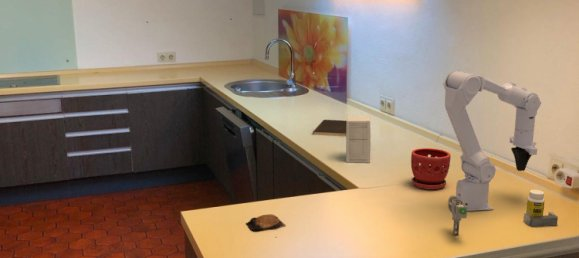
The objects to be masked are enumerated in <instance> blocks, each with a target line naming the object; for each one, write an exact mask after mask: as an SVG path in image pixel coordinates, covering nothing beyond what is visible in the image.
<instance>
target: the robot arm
mask: <svg viewBox="0 0 579 258" xmlns="http://www.w3.org/2000/svg"><path fill="white" fill-rule="evenodd" d="M442 86H443V87H444V89H445V91H444V93H445V95H444V96H445V97H444V108H445V111H446V114H447V116H448V118H449V121H450V123H451V126H452V128H453V131H454V133H455V137H456V138H457V141H458V142H457V143H459V147H460V148H461V151H462V154H461V155H460V162H461V170H462V172H463V174H464V177H465V178H463V179H459V180H457V182H456V185H455V186H456V188H455V191H456V192H455V196H456V197H457V198H458V200H462V201H463V202H464V204H465V205H466V206H467V212H471V211H489V210H490V211H491V210H493V209H494V208H493V207H492V206H491V205H490V204H489V190H490V183H491V181H492V180H493V178H495V175H496V171H497V169H496V167H495V165H494V163H492V162H491V161H490V158H489V157H488V155H486V153H484V151H483V150H482V147H481V146H480V143H479V140H478V138H477V135H476V132H475V130H474V127H473V124H472V122H471V120H470V116H469V113H468V111H467V109H466V107H467V106H468V105H469V104H470V103H471V101H472V100H473V99H475V96H476V95H477V94H479V93H478V92H483V90H484V91H487V92H491V93H492V94H496V95H497V97H498V100H500V101H501V102H504V103H507V104H509V105H512V106H513V107H514V108H516V109H515V120H514V122H515V123H514V133H513V134H514V135H513V136H510V137H509V143H510V144H512V146H514V147H511V152H512V154H513V157H514V161H515V167H516V171H517V172H522V171H525V170H526V168H527V165H528V162H529V160H530V159H531V157H532V156H534V155H537V154H538V148H537V147H535V146H536V145H537V142H536V141H534V134H535V122H536V116H537V114H538V111H539V108H540V107H541V104H542V101H541V100H540V97H539V95H538V94H537V93H534V92H530V91H527V90H528V89H527V88H525V87H522V88H521V87H519V86H517V83H514V82H506V83H503V84H501V83H499V82H496V81H495V80H492V79H490V78H488V77H486V76H484V75H483V76H482V75H479V74H475V73H470V72H466V71H464V72H463V71H460V70H457V69H455V70H451V71H450V72H449V73H447V75H446V77H445V79H444V81H443V85H442Z"/></svg>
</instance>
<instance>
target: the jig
mask: <svg viewBox="0 0 579 258" xmlns="http://www.w3.org/2000/svg"><path fill="white" fill-rule="evenodd" d="M558 218H559V217H558V215H556V214H555V213H554V212H553V211H549V212H548V215H546V214H545V215H543V216H530V215H529V214H528V213H526V212H525V213H523V223H525V224H526V225H528V226H529V227H530V226H531V228H535V227H536V228H537V227H538V228H539V227H541V228H542V227H555V226H556V227H557V226H558V220H559V219H558Z"/></svg>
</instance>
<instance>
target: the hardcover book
mask: <svg viewBox="0 0 579 258" xmlns="http://www.w3.org/2000/svg"><path fill="white" fill-rule="evenodd" d="M346 124H347V120H339V119H323V120H322V121H321V122H319V124H318V126H317V127H316V128H315V129H314V130H312V135H315V136H316V135H318V136H331V137H333V136H334V137H346Z"/></svg>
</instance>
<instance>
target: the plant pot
mask: <svg viewBox="0 0 579 258" xmlns="http://www.w3.org/2000/svg"><path fill="white" fill-rule="evenodd" d="M410 166H411V168H410V169H411V172H412V174H413V177H412V178H411V182H412V184H413V185H414V186H416V187H418V188H419V189H424V190H437V189H438V190H439V189H441V188H444V186H446V184H447V180H446V177H447V176H448V174H449V169H450V167H451V153H450V152H449V151H446V150H443V149H439V148H432V147H431V148H427V147H425V148H424V147H423V148H421V147H420V148H416V149H413V150H412V151H411V156H410Z"/></svg>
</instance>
